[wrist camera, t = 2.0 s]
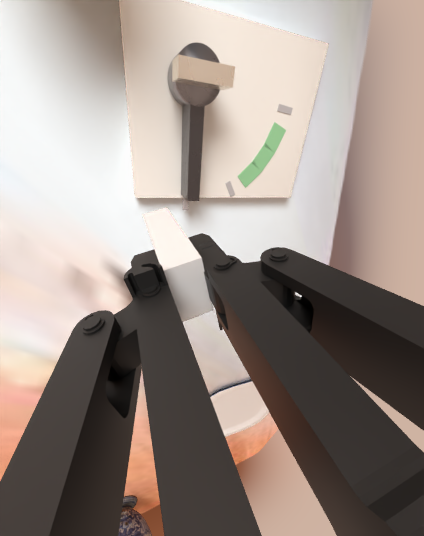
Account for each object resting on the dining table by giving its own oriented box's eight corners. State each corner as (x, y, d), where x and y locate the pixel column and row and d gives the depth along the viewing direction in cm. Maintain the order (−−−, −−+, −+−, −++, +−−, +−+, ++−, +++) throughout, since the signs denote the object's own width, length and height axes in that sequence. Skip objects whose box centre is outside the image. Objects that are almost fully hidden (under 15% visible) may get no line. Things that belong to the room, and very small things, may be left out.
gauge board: (117, -10, 20) (118, -19, 18) (319, 47, 27) (329, 43, 26) (135, 207, 29) (136, 210, 28) (281, 204, 36) (288, 207, 35)
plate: (284, 366, 65) (288, 372, 63) (263, 417, 77) (265, 422, 75) (198, 390, 55) (200, 396, 54) (189, 443, 67) (190, 449, 66)
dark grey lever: (164, 46, 21) (178, 27, 17) (213, 57, 23) (237, 42, 19) (166, 194, 28) (176, 207, 24) (204, 194, 29) (220, 206, 25)
